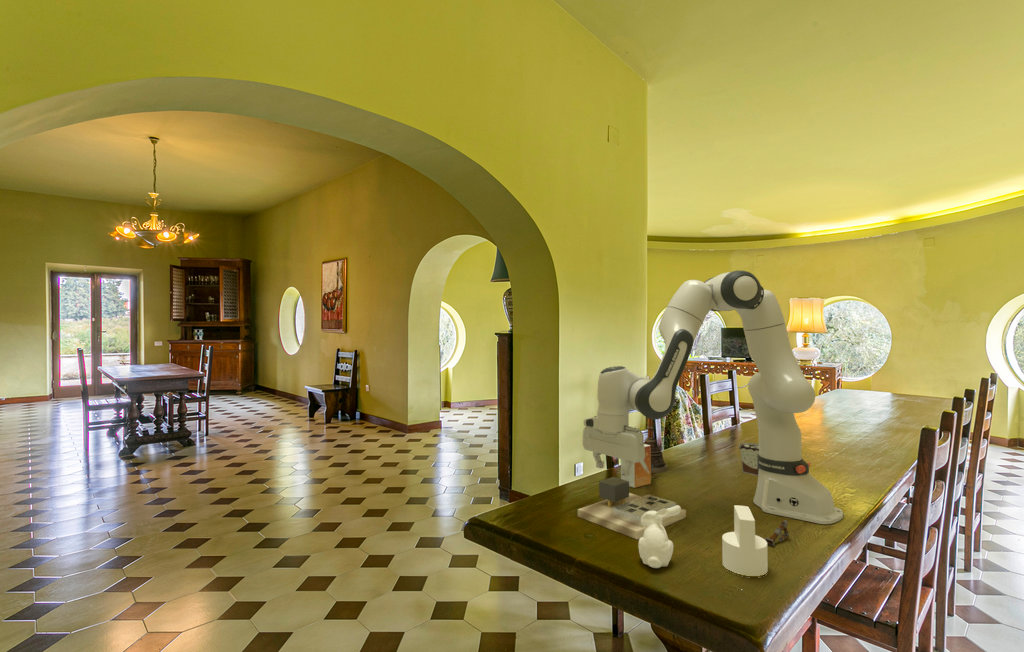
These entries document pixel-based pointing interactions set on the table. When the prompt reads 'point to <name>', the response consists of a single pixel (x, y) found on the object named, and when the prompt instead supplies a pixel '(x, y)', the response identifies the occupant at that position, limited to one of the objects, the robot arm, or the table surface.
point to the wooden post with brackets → (777, 533)
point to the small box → (639, 470)
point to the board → (604, 517)
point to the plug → (614, 490)
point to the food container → (749, 457)
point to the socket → (640, 508)
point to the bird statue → (655, 448)
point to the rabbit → (656, 538)
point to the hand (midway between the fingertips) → (612, 471)
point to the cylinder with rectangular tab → (744, 546)
